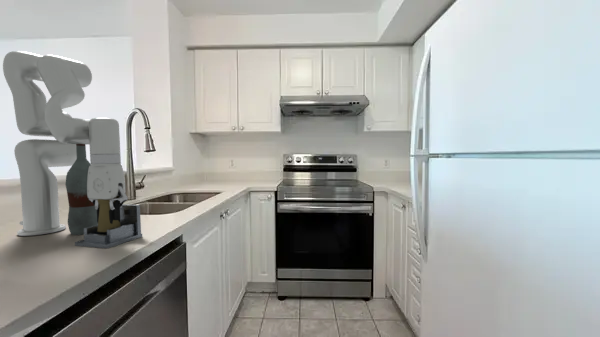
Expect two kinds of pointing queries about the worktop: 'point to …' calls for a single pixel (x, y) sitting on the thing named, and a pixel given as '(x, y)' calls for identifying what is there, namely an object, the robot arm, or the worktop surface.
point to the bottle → (79, 195)
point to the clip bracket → (115, 230)
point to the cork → (105, 216)
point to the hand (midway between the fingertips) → (109, 221)
